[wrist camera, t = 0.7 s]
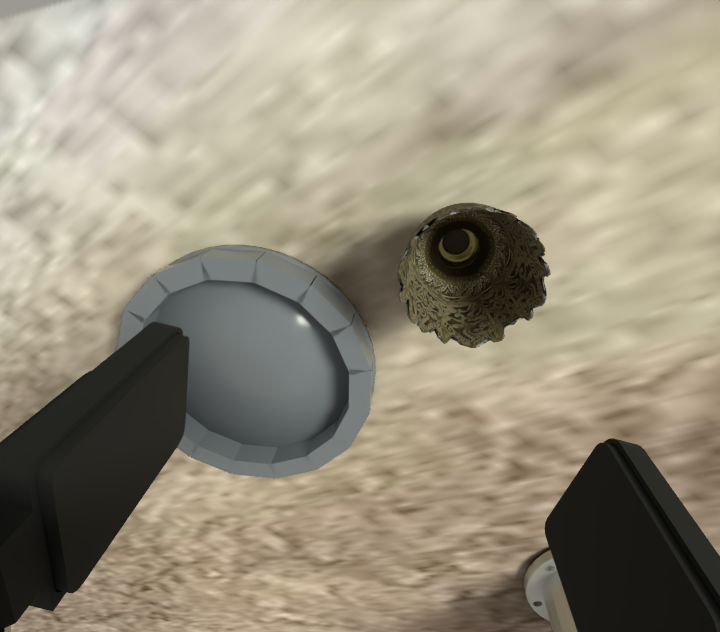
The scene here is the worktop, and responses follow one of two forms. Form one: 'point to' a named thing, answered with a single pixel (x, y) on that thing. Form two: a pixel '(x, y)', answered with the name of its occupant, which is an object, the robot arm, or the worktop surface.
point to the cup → (472, 274)
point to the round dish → (261, 358)
